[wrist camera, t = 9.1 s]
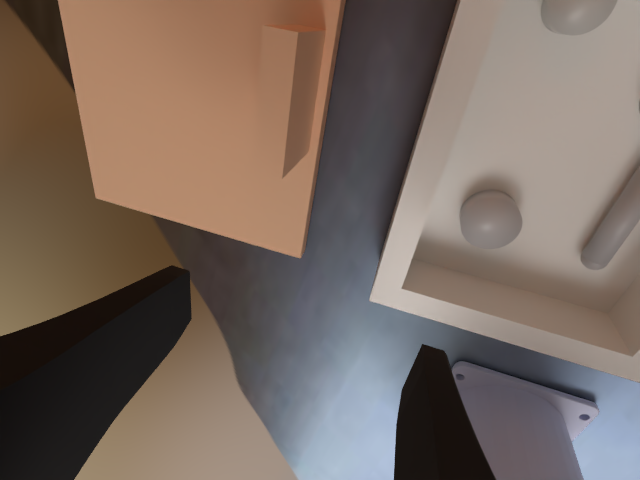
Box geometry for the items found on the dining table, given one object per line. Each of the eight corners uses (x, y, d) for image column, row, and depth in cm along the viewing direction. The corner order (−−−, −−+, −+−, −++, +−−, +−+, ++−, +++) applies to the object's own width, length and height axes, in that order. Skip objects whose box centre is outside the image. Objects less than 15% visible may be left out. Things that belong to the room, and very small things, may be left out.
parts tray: (613, 327, 19) (645, 384, 16) (379, 260, 20) (369, 300, 17) (960, -93, 10) (1175, -140, 7) (501, -147, 12) (523, -203, 9)
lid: (307, 246, 21) (277, 298, 17) (111, 190, 23) (44, 224, 19) (377, -173, 12) (347, -266, 8) (46, -211, 14) (-107, -301, 10)
